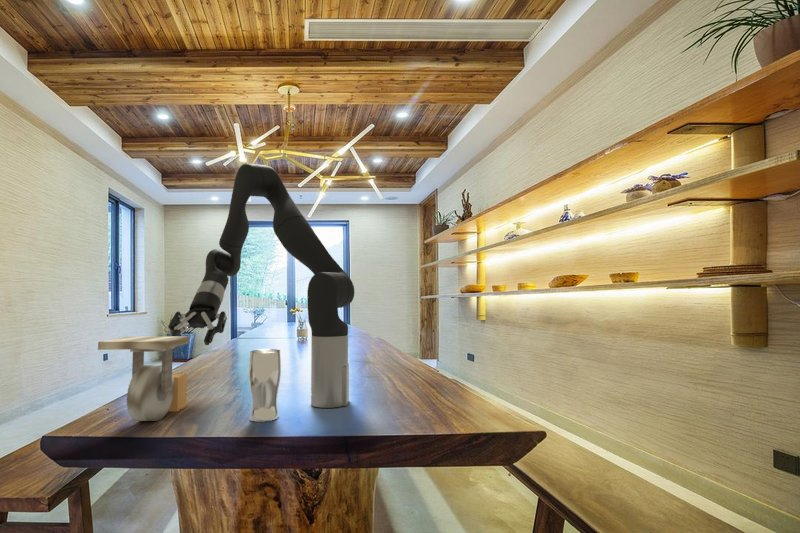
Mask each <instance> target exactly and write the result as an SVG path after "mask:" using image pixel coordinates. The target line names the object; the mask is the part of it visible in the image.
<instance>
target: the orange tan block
mask: <svg viewBox="0 0 800 533" xmlns="http://www.w3.org/2000/svg"><path fill="white" fill-rule="evenodd" d="M172 374H173V378H174V393H173V399H172V402H171V405H170V408H169V410H168V412H179V411H181V410H182V409H184V408H186V407H187V384H188V383H187V380H188V379H187V377H188V376H187V373H172ZM185 406H186V407H185ZM180 409H181V410H180Z"/></svg>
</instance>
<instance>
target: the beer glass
mask: <svg viewBox="0 0 800 533" xmlns="http://www.w3.org/2000/svg"><path fill="white" fill-rule="evenodd" d="M281 359H282V358H281V350H280V349H275V348H266V349H265V348H262V349H253V350H251V351H250V352H249V359H248V360H249V361H248V362H249V363H248V382H249V388H250V394H251V402H252V403H251V412H250V416H249V420H250V421H251V422H253V421H255V422H254V423H266V422H265V421H269V422H271V421H272V420H273V421H275V419H276V420H278V418H279V410H278V403H277V402H278V393H279V388H280V383H281V376H282V360H281ZM273 421H272V422H273Z"/></svg>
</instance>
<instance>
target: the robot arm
mask: <svg viewBox="0 0 800 533" xmlns="http://www.w3.org/2000/svg"><path fill="white" fill-rule="evenodd" d="M250 197H260V198H261V197H262V198H265V199H267V201H268V202H269V203H270V205H271V206H272V208H273V211H274V212H273V219H272V228H273V232H274V234H275V235H276V237H277V239H278V241H279V242H280V244H281V245H282V246H283V248H284V249H285V250H286V252H288V253H289V254H290V255H291V256H292V257H293V258H295V259H296V260H297V261H298V262H300V263H301V264H303V266H305V267H306V268H307V269H308V270H310V272H311V273H312V274H313V276H311V278H310V280H309V282H308V286H307V293H306V294H307V298H306V299H307V319H308V324H309V327H310V330H311V345H310V346H311V350H310V351H311V359H310V360H311V362H310V364H311V366H310V367H311V368H310V369H311V370H310V371H311V372H310V374H311V375H310V378H311V379H310V382H311V383H310V405H311V406H312V407H314V408H315V407H316V408H323V409H331V408H332V409H333V408H339V407H347V406H348V403H349V402H350V399H349V398H350V386H349V385H350V363H349V325H348V324H347V322H345V321H343V320H342V319H341V318H340V316H339V308H343V307H347V306H348V305H350V304H351V303H352V301H353V300H354V297H355V286H354V283H353V281H352V279H351V278H350V276H349V275H348V274H347V272H345V270H344V269H343V268H342V267H341V266H340V265H339V264H338V262H337V261H336V260H335V259H334V257H333V256H332V255H331V254H330V252H328V250H327V247H325V245H324V244H323V242H322V241H321V240H320V238H319V237H318V235H317V234H316V232H315V231H314V229H313V228H312V226H311V225H310V223H309V222H308V220H307V219H306V217H305V216H304V215H303V213H302V212H301V211H300V210H299V208H298V206H297V205H296V203H295V202H294V200H293V199H292V197H291V194H290V193H289V192H288V190H287V188H286V186H285V184H284V183H283V180H282V179H281V177H280V175H279V173H278V172H277V170H275V169H274V168H273V167H272V166H269V165H264V164H257V163H250V162H249V163H243V164H241V165H240V167H239V168H238V169H237V172H236V174H235V178H234V182H233V188H232V193H231V198H230V204H229V208H228V209H229V210H228V215H227V219H226V222H225V225H224V228H223V230H222V234H221V235H220V239H219V242H218V244H219V247H220V248H221V249H222V250H221V249H219V248H215V249H214V248H213V249H212V250H210V251H209V252H208V253H207V255H206V258H205V273H204V276H203V279H202V281H201V283H200V285H199V287H198V288H197V290H196V292H195V295H194V297H193V299H192V301H191V302H190V303H191V304H190V306H189V310H188V311H187V312H186V313H181V312H180V311H176V312H175V314H174V316H173V317H172V318H171V320H170V323H169V324H168V329H169V331H170V333H171V336H182V334H184V333H185V332H189V331H190V330H191V329H205V328H207V331H206V334H205V336H204V339H203V342H204V345H205V346H210V344H212V342H213V340H214V337H215V336H216V334H223V333H224V331H225V327H226V322H227V320H228V319H227V315H226V311H224V310H223V311H221V312H220V313H219V310H220V307H221V305H222V303H223V299H224V296H225V291H226V289H227V287H228V284H229V277H234V276H236V275H237V274H238V273H239V271H240V269H241V263H242V250H243V247H244V245H245V242H246V240H247V237H248V235H249V230H250V225H249V224H250V223H249V219H248V216H247V213H246V212H247V211H246V208H247V207H246V206H247V203H248V201H249V199H250ZM216 320H217V323H216V325H215V326H214V325H213V323H214V322H215V321H216ZM187 324H188V325H187Z"/></svg>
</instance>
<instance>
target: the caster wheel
mask: <svg viewBox="0 0 800 533" xmlns="http://www.w3.org/2000/svg"><path fill="white" fill-rule="evenodd" d="M188 344H190V336H189V335H186V336H182V335H181V336H172V335H171V336H163V335H162V336H124V337H123V336H122V337H118V338H114V339H108V340H106V339H105V340H102V341H98V342H97V350H99V351H101V350H102V351H103V350H106V351H109V350H110V351H111V350H115V351H116V350H117V351H118V350H129V352H131V353H132V364H131V366H132V368H131V369H132V371H131V373H132V374H131V379H130V381H129V384H128V387H127V393H126V407H127V411H128V414H129V416H130V418H131V419H132V420H133V421H135V422H155V421H156V422H158V421H160V420H162V419H163V418H165V416H166V415H167V413H168V412H169V411H168V410H169V408H170V405H171V402H172V399H173V393H174V378H173V374H174V373H173V350H174V349H175V348H177V347H180V346H184V345H188ZM145 352H152V353H153V352H161V364H144V362H145Z"/></svg>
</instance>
